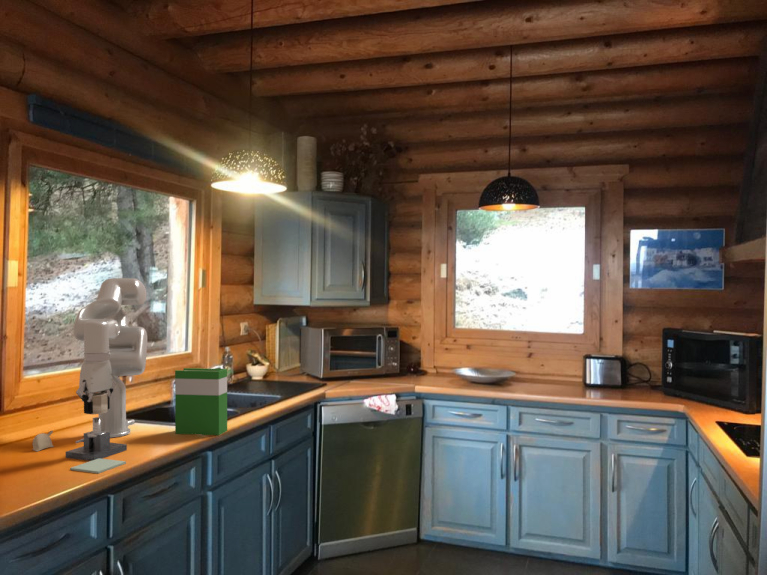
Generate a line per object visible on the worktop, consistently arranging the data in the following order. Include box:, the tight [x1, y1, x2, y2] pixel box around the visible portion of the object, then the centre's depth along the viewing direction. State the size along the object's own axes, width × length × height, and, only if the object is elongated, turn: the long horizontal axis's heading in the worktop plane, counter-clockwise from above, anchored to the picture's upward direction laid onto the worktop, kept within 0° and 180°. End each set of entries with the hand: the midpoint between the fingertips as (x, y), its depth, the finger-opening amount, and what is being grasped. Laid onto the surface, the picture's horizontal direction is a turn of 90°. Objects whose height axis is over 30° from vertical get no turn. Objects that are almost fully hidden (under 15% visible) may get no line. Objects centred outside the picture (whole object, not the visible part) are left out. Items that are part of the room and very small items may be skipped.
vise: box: [65, 416, 128, 462], centre depth 199 cm, size 14×13×12 cm
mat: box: [69, 458, 127, 474], centre depth 184 cm, size 11×11×1 cm
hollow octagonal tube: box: [87, 392, 108, 415], centre depth 199 cm, size 6×6×6 cm
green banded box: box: [174, 367, 228, 436], centre depth 229 cm, size 18×7×24 cm, turn 81°
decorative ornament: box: [31, 430, 55, 453], centre depth 207 cm, size 4×8×5 cm, turn 159°
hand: (96, 410), depth 199 cm, fingers closed on hollow octagonal tube, 6 cm apart
